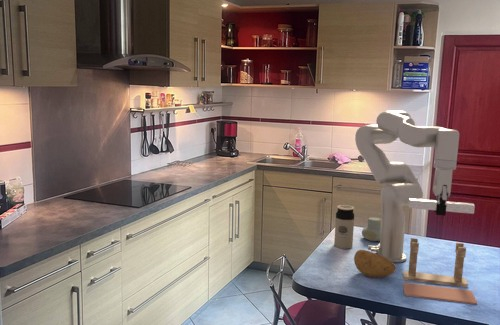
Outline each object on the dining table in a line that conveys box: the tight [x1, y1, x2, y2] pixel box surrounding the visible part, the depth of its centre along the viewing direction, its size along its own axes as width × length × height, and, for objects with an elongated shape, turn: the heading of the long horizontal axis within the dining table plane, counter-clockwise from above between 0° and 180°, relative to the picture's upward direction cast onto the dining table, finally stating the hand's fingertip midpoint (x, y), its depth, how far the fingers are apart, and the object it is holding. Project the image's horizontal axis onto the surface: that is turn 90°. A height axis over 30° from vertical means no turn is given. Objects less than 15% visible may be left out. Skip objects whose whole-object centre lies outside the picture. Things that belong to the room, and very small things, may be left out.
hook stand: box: [402, 237, 469, 288], centre depth 177 cm, size 22×6×14 cm, turn 76°
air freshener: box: [361, 216, 381, 242], centre depth 223 cm, size 11×8×10 cm
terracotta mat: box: [402, 282, 478, 305], centre depth 166 cm, size 23×10×1 cm, turn 76°
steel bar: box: [407, 198, 476, 215], centre depth 173 cm, size 22×3×3 cm, turn 76°
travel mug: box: [333, 204, 355, 250], centre depth 212 cm, size 8×8×18 cm
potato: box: [353, 249, 397, 278], centre depth 180 cm, size 9×16×9 cm, turn 53°
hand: (439, 213), depth 174 cm, fingers closed on steel bar, 3 cm apart
